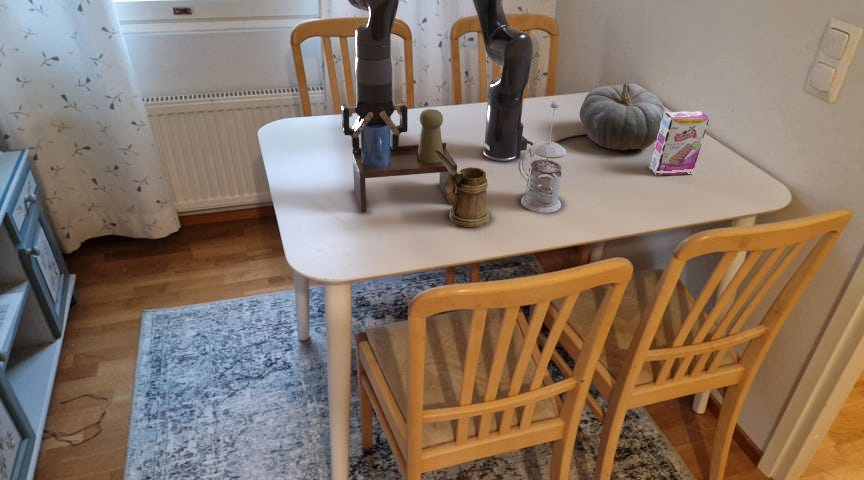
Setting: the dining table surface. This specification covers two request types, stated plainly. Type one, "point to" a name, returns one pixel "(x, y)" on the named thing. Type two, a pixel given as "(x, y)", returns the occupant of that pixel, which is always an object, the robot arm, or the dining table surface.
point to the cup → (375, 145)
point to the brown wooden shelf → (398, 169)
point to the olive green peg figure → (430, 136)
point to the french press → (543, 195)
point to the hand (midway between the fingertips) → (375, 150)
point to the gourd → (622, 116)
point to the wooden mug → (466, 194)
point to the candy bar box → (678, 141)
